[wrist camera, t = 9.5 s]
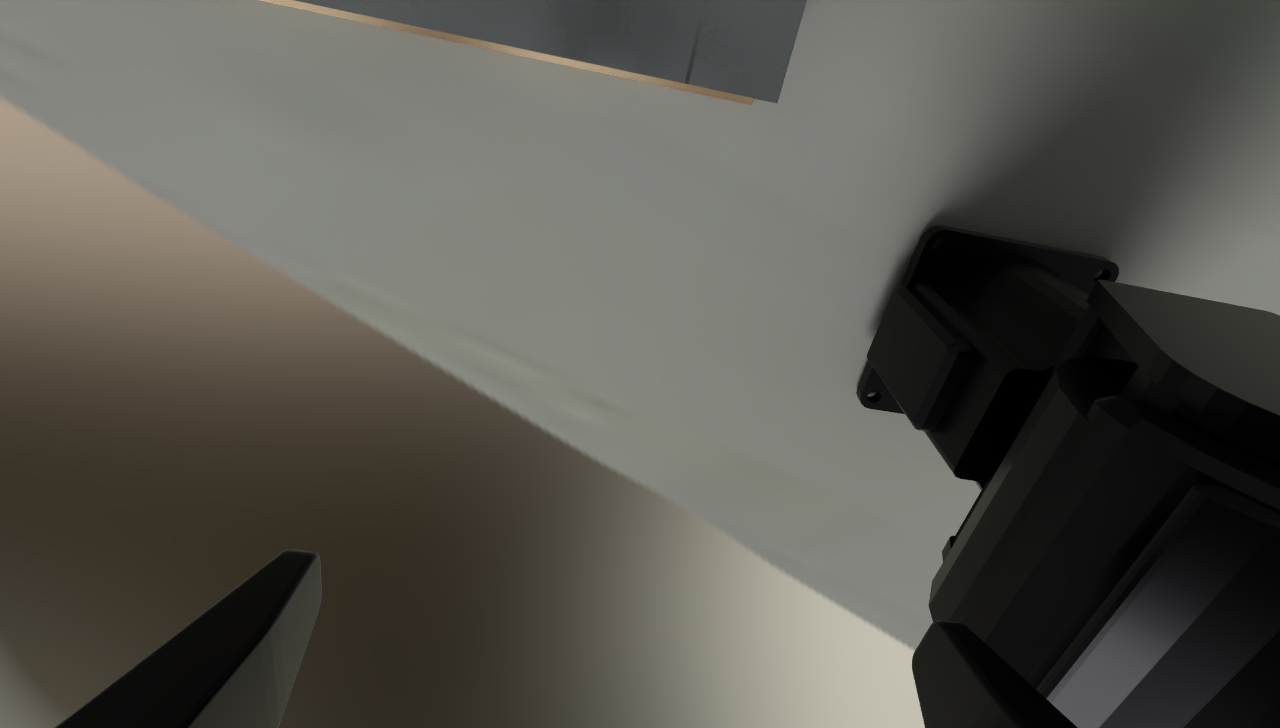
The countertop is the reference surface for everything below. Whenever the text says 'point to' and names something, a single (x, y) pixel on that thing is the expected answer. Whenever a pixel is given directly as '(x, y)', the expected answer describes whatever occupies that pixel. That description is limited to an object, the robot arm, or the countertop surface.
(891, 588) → the countertop surface
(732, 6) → the metal u-shaped bracket
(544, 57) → the mat
